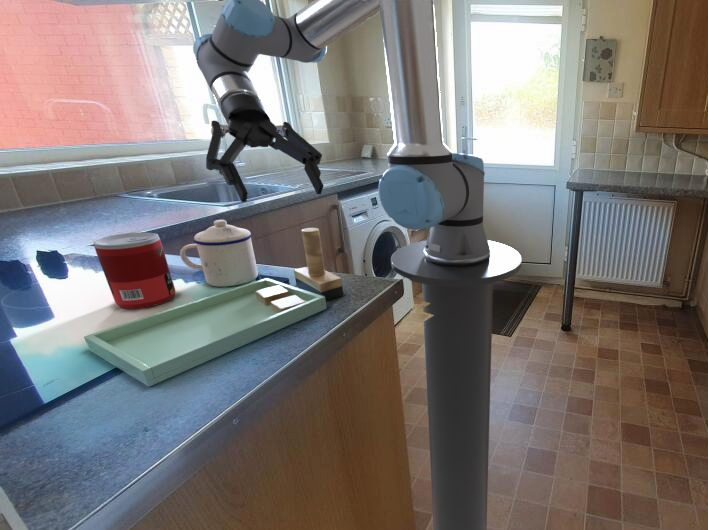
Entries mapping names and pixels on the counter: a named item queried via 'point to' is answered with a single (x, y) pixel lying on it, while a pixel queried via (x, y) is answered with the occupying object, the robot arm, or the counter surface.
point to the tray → (197, 331)
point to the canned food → (135, 269)
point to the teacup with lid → (224, 255)
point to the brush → (316, 269)
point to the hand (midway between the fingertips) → (284, 193)
